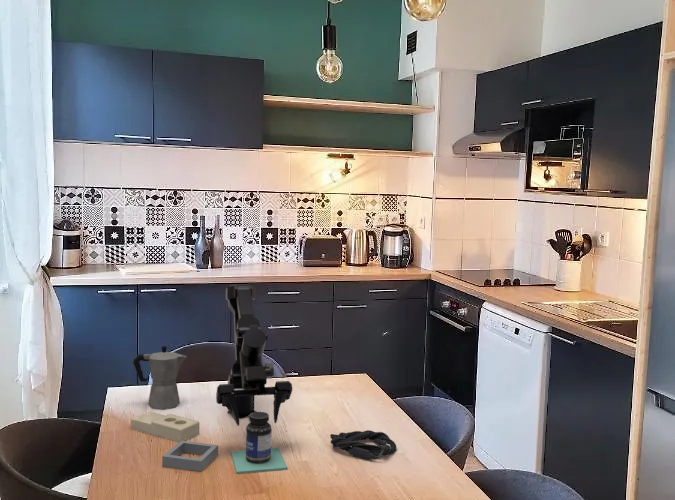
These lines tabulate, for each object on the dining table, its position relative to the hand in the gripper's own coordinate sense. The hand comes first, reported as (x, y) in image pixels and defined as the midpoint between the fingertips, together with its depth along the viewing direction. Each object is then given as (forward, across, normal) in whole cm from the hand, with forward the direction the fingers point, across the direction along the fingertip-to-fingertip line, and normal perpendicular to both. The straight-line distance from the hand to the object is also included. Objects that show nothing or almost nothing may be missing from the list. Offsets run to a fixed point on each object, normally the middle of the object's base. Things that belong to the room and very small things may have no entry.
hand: (257, 423), depth 162 cm
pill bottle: (+8, 0, +3) cm, 8 cm away
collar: (+6, -16, +6) cm, 18 cm away
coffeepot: (-24, -23, +36) cm, 49 cm away
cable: (+6, +27, +6) cm, 29 cm away
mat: (+8, 0, +4) cm, 9 cm away
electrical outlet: (-8, -22, +21) cm, 31 cm away
